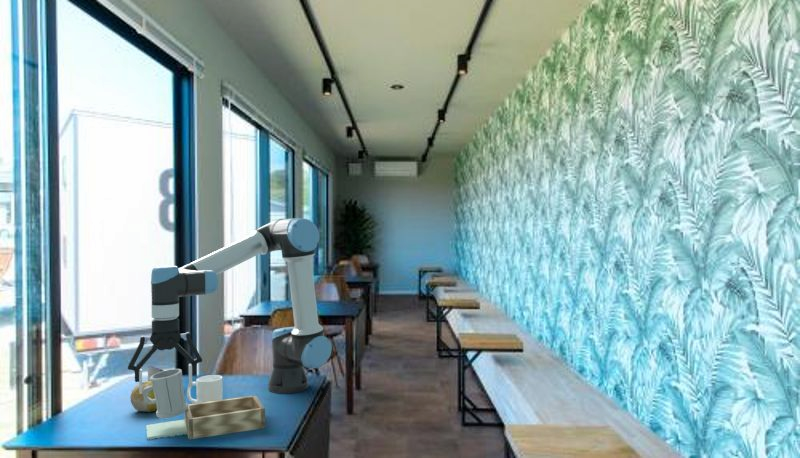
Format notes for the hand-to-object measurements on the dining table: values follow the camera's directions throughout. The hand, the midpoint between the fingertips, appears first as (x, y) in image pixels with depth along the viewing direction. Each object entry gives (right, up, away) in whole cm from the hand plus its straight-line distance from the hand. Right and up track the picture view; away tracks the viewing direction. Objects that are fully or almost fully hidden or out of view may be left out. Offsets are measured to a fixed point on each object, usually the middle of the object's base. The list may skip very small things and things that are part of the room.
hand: (166, 389), depth 163 cm
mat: (0, -13, 0) cm, 13 cm away
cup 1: (+1, -7, 0) cm, 7 cm away
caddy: (+16, -12, +4) cm, 21 cm away
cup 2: (+4, -13, +21) cm, 25 cm away
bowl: (-19, -13, +43) cm, 49 cm away
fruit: (-14, -13, +19) cm, 27 cm away
